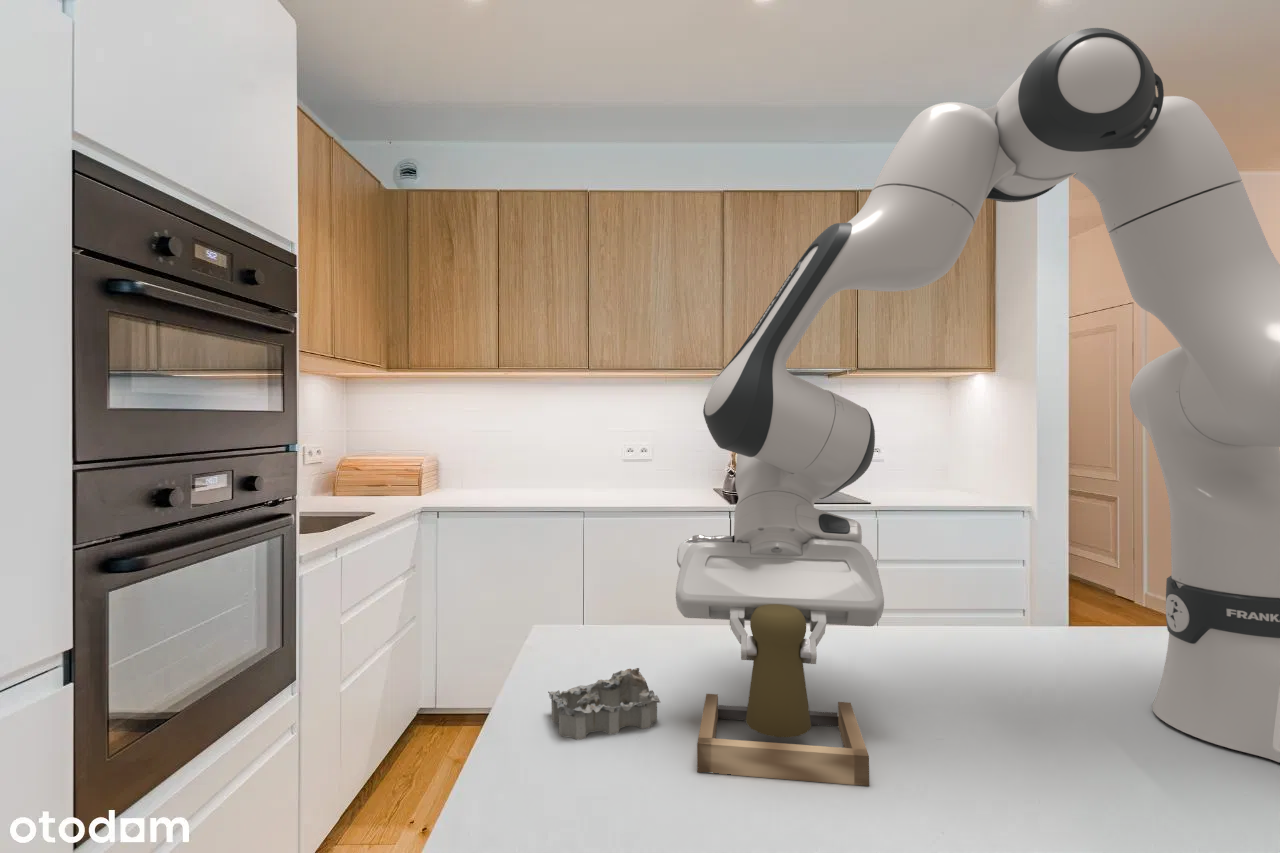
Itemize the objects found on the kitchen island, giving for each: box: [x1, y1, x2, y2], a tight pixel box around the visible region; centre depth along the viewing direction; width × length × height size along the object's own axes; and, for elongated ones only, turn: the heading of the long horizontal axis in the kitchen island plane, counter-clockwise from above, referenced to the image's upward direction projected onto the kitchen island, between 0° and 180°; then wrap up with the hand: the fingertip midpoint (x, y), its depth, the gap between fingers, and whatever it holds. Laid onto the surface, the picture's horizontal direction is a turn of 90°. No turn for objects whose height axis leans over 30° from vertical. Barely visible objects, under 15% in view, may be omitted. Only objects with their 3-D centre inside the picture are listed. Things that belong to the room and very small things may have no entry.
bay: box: [696, 693, 870, 787], centre depth 64 cm, size 14×12×2 cm
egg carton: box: [548, 667, 661, 741], centre depth 70 cm, size 11×8×4 cm
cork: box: [745, 604, 812, 738], centre depth 64 cm, size 6×6×11 cm
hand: (778, 659), depth 64 cm, fingers closed on cork, 4 cm apart
